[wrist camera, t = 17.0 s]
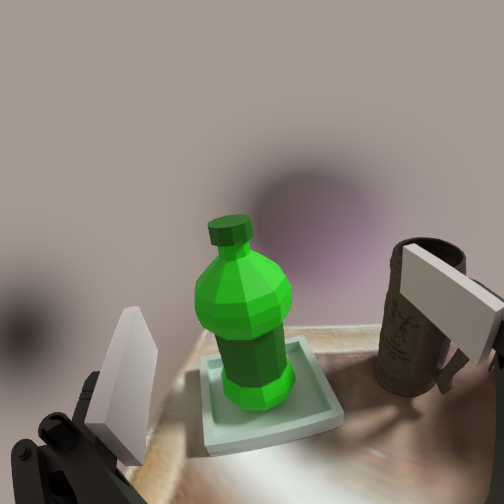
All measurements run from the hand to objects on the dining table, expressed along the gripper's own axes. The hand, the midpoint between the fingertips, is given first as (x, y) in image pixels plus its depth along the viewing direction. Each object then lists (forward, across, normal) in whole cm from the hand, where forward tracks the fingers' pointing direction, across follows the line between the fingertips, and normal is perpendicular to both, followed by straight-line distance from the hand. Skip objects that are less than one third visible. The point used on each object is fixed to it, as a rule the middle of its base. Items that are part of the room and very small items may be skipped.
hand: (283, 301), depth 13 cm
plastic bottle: (+16, -2, -26) cm, 30 cm away
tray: (+16, -2, -26) cm, 31 cm away
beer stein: (+11, +20, -27) cm, 36 cm away
